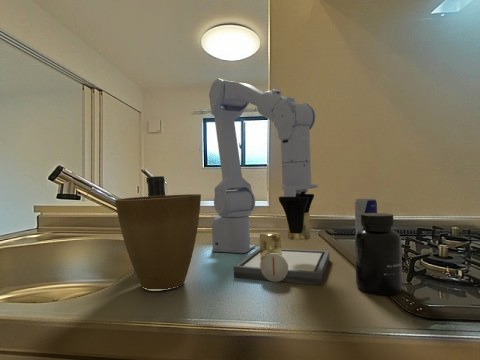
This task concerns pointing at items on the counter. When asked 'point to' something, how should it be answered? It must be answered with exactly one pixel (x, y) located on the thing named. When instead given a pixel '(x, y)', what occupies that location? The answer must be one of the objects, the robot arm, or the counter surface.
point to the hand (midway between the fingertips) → (298, 230)
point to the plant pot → (160, 236)
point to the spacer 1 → (270, 244)
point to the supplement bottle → (378, 255)
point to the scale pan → (293, 260)
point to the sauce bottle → (156, 186)
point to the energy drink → (363, 210)
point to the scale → (281, 269)
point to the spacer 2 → (305, 232)
